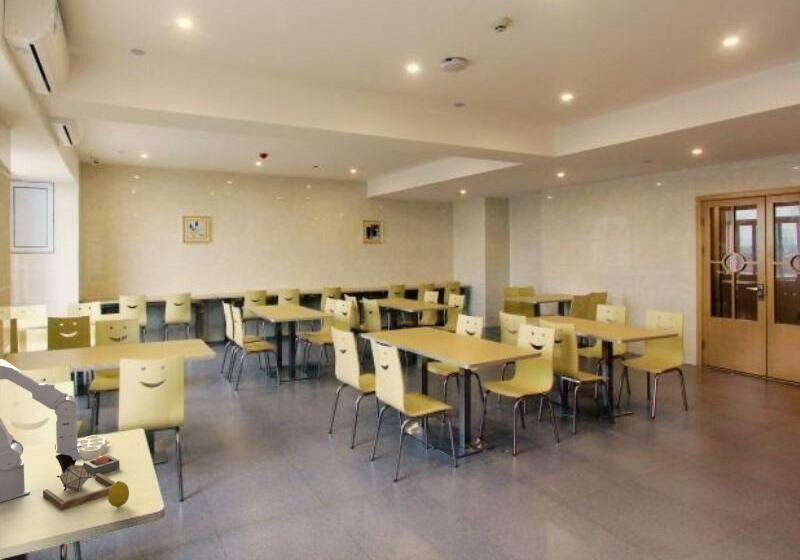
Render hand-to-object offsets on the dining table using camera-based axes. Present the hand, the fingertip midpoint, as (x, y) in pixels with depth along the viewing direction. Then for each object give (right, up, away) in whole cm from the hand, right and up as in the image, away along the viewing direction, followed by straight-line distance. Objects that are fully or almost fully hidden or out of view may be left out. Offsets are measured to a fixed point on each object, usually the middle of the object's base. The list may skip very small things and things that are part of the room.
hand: (67, 475), depth 172 cm
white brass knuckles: (-10, -2, +29) cm, 30 cm away
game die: (+4, -3, -3) cm, 6 cm away
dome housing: (+4, -2, +12) cm, 13 cm away
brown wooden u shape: (+8, -3, -6) cm, 11 cm away
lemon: (+24, -4, -15) cm, 29 cm away
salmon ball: (+4, -2, +12) cm, 13 cm away
